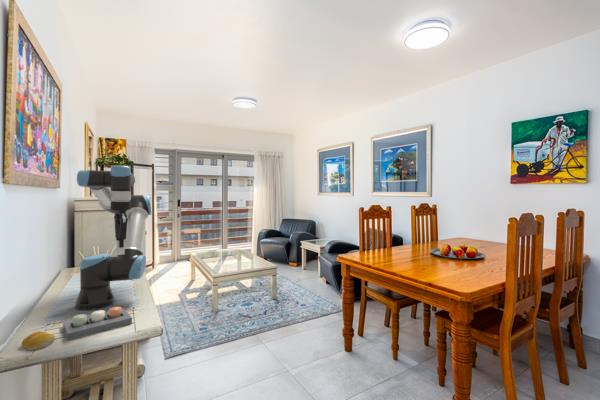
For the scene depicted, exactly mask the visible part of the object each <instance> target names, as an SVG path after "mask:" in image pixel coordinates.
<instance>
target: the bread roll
mask: <svg viewBox="0 0 600 400" xmlns="http://www.w3.org/2000/svg"><path fill="white" fill-rule="evenodd" d="M55 340H56V339H55V335H54V334H52V333H48V332H46V331H43V330H42V331H37V332H36V331H35V332H33V333H30V334H29V335H28V336H26V337H25V338H23V340H22V342H21V347H22V348H24V349H26V350H28V351H34V350H40V349H44V348H47V347H48V346H50V345H52V343H54V341H55Z"/></svg>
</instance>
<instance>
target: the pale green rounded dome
mask: <svg viewBox="0 0 600 400" xmlns="http://www.w3.org/2000/svg"><path fill="white" fill-rule="evenodd" d="M87 316H88V315H87V314H84V313H82V314H81V313H80V314H77V315H74V316H73V317H72V319H73V328H75V327H79V326H83V325H87Z"/></svg>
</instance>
